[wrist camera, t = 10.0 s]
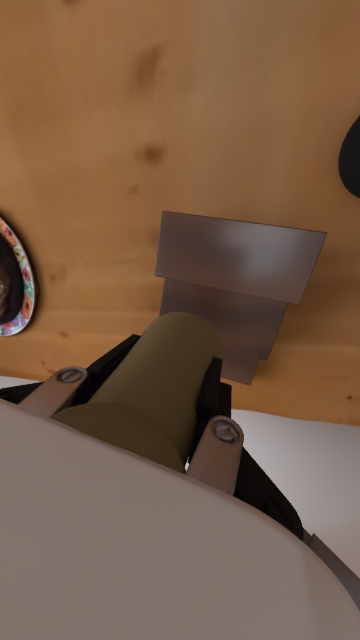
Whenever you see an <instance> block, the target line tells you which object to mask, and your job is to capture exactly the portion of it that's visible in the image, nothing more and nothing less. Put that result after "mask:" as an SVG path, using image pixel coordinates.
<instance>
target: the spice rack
mask: <svg viewBox="0 0 360 640" xmlns="http://www.w3.org/2000/svg"><path fill="white" fill-rule="evenodd" d="M326 236H327V232H320V231H312V230H305V229H297V228H290V227H282V226H275V225H267V224H260V223H252V222H245V221H237V220H230V219H222V218H215V217H207V216H200V215H192V214H185V213H177V212H170V211H162V220H161V228H160V236H159V245H158V253H157V261H156V270H155V276H158V277H163V278H165V279H164V286H163V293H162V301H161V308H160V315H159V316H162V315H164V314H167V313H169V312H187V313H191V314H194V315H198V316H199V317H201V318H202V319H204V320H206V321H207V322H209V323H210V324H211V325H212V326H213V328H214V329H215V330H216V331H217V332H218V333H219V335H220V338H221V340H222V343H223V345H224V352H225V361H224V364H223V367H222V370H221V377H222V378H226V379H229V380H232V381H236V382H239V383H242V384H246V385H249V386H251V383H252V380H253V377H254V374H255V371H256V369H257V366H258V363H259V360H260V358H261V359H264V360H268V357H269V354H270V352H271V349H272V346H273V343H274V341H275V338H276V335H277V332H278V330H279V327H280V324H281V321H282V319H283V316H284V313H285V310H286V308H287V305H288V303H289V304H294V305H300V303H301V300H302V298H303V295H304V293H305V290H306V287H307V285H308V282H309V280H310V277H311V274H312V272H313V269H314V267H315V264H316V261H317V259H318V256H319V254H320V251H321V249H322V246H323V243H324V241H325V238H326Z"/></svg>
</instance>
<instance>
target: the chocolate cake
mask: <svg viewBox="0 0 360 640" xmlns="http://www.w3.org/2000/svg"><path fill="white" fill-rule="evenodd" d="M39 291H40V288H39V286H38V284H37V282H36V279H35V276H34V273H33V270H32V268H31V265H30V262H29V260H28V257H27V255H26V252H25V250H24V247H23V245H22V242H21V241H20V240H19V238H18V237H17V236H16V235H15V234H14V232H13V231H12V229H11V228H10V227H9V226H8V225H7V224H6V223H5V221H4V220H3V219H2V218H1V217H0V336H12V335H15V334H17V333H19V332H21V331H22V330H23V329H24V328H25V327H26V325H27V324H29V323H31V316H32V315H33V311H34V309H35V306H36V302H37V299H38V293H39Z"/></svg>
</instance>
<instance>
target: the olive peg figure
mask: <svg viewBox="0 0 360 640" xmlns="http://www.w3.org/2000/svg"><path fill="white" fill-rule="evenodd" d="M213 357H216V358H220V359H223V360H222V367H223V364H224V361H225V352H224V345H223V343H222V340H221V338H220V335H219V333H218V332H217V331H216V330H215V329H214V328H213V326H212V325H211V324H210V323H209V322H207V321H206V320H204V319H202V318H201V317H199V316H198V315H194V314H191V313H187V312H169V313H167V314H164V315H162V316H159V317H158V318H157V319H155V320H154V321H153V322H152V323H151V324H150V325H149V326H148V327H147V329H146V330H145V331H144V332H143V334H142V335H141V338H140V339H139V340H138V341H137V342H136V344H135V345H134V346H133V348H132V349H131V350H130V352H129V353H128V354H127V355H126V356H125V358H124V359H123V360H122V361H121V362H120V363H119V365H118V366H117V367H116V368H115V369H114V371H113V372H112V373H111V374H110V375H109V377H108V378H107V379H106V380H105V381H104V382H103V384H102V385H101V386H100V387H99V389H98V390H97V391H96V392H95V394H94V395H93V396H92V397H91V399H90V400H89V401H88V402H87V404H82V405H78V406H74V407H70V408H66V409H64V410H62V411H60V412H58V413H56V414H55V415H53V416H51V417H49V418H51V419H53V420H56V421H58V422H61V423H63V424H65V425H68V426H70V427H72V428H74V429H76V430H78V431H79V432H82V433H84V434H87V435H89V436H91V437H94V438H96V439H99V440H101V441H104V442H106V443H108V444H111V445H113V446H116V447H119V448H122V449H125V450H128V451H130V452H133V453H135V454H137V455H140V456H142V457H144V458H147V459H149V460H151V461H154V462H156V463H159V464H161V465H163V466H166V467H168V468H170V469H173V470H175V471H177V472H180V473H182V474H184V475H185V473H186V470H185V465H186V462H187V460H188V457H189V455H190V452H191V449H192V445H193V442H194V438H195V434H196V429H197V425H198V418H197V412H196V408H197V404H198V400H199V396H200V392H201V388H202V384H203V380H204V376H205V373H206V371H207V369H208V368H209V366H210V364H211V363H212V361H213ZM221 370H222V369H221Z"/></svg>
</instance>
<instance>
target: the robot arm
mask: <svg viewBox="0 0 360 640" xmlns="http://www.w3.org/2000/svg"><path fill="white" fill-rule="evenodd" d="M140 338H141V336H139V335H135V334H133V335H131V336H130V337H128V338H127V339H126V340H124V341H123V342H121V343H120V344H119V345H117V346H116V347H115V348H113V349H112V350H110V351H109V352H108V353H106V354H105V355H103V356H102V357H101V358H99V359H98V360H96V361H95V362H94V363H92V364H91V365H90V366H89V367H88V368H86V369H84V368H82V367H77V366H72V367H66V368H63V369H60V370H59V371H57V372H56V373H54V374H53V375H52V376H51V377H50V378H48V379H47V380H46V381H45V382H39V383H33V384H27V385H20V386H14V387H8V388H2V389H0V640H360V578H358V577H357V576H356V575H355V574H354V573H353V572H352V571H351V570H350V569H349V568H348V567H347V566H346V565H345V564H344V563H343V562H342V561H341V560H340V559H339V558H338V557H337V556H336V555H335V554H334V553H333V552H332V551H331V550H330V549H329V548H328V547H327V546H326V545H325V544H324V543H323V542H322V541H321V540H320V539H319V538H318V537H317V536H316V535H315V534H313V535H312V536H311V535H310V534H309V533H308V532H307V531H306V530H305V529H304V528H303V527H302V523H301V520H300V518H299V516H298V514H297V512H296V510H295V509H294V508H293V506H292V505H291V503H290V502H289V501H288V500H287V499H286V497H285V496H284V495H283V494H282V493H281V491H280V490H279V489H278V488H277V487H276V485H275V484H274V483H273V482H272V481H271V480H270V478H269V477H268V476H267V475H266V474H265V472H264V471H263V470H262V469H261V468H260V466H259V465H258V464H257V463H256V461H255V460H254V459H253V458H252V457H251V456H250V454H249V453H248V452H247V451H246V450H245V448H244V447H243V441H244V434H243V431H242V429H241V428H240V426H239V425H238V424H237V423H236V422H235V421H234V420H232V419H231V390H232V387H231V385H228V384H225V383H222V382H220V377H221V369H222V360H223V359H220V358H216V357H213V361H212V363H211V364H210V366H209V368H208V369H207V371H206V373H205V376H204V380H203V384H202V388H201V392H200V396H199V400H198V404H197V408H196V412H197V418H198V425H197V429H196V434H195V438H194V442H193V445H192V449H191V452H190V455H189V458H188V463H189V467H188V469H187V471H186V473H185V475H184V474H182V473H180V472H177V471H175V470H173V469H170V468H168V467H166V466H163V465H161V464H159V463H156V462H154V461H151V460H149V459H147V458H144V457H142V456H140V455H137V454H135V453H133V452H130V451H128V450H125V449H122V448H119V447H116V446H113V445H111V444H108V443H106V442H104V441H101V440H99V439H96V438H94V437H91V436H89V435H87V434H84V433H82V432H79V431H78V430H76V429H74V428H72V427H70V426H68V425H65V424H63V423H61V422H58V421H56V420H53V419H51V418H49V417H51V416H53V415H55V414H56V413H58V412H60V411H62V410H64V409H66V408H70V407H74V406H78V405H82V404H87V402H88V401H89V400H90V399H91V397H92V396H93V395H94V394H95V392H96V391H97V390H98V389H99V387H100V386H101V385H102V384H103V382H104V381H105V380H106V379H107V378H108V377H109V375H110V374H111V373H112V372H113V371H114V369H115V368H116V367H117V366H118V365H119V363H120V362H121V361H122V360H123V359H124V358H125V356H126V355H127V354H128V353H129V352H130V350H131V349H132V348H133V346H134V345H135V344H136V342H137V341H138V340H139V339H140Z"/></svg>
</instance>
